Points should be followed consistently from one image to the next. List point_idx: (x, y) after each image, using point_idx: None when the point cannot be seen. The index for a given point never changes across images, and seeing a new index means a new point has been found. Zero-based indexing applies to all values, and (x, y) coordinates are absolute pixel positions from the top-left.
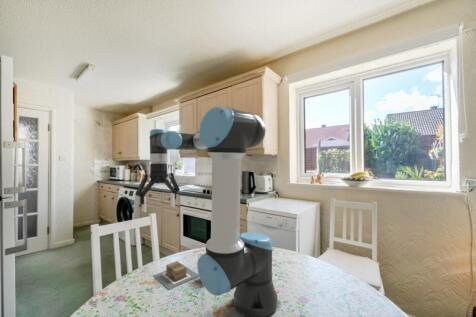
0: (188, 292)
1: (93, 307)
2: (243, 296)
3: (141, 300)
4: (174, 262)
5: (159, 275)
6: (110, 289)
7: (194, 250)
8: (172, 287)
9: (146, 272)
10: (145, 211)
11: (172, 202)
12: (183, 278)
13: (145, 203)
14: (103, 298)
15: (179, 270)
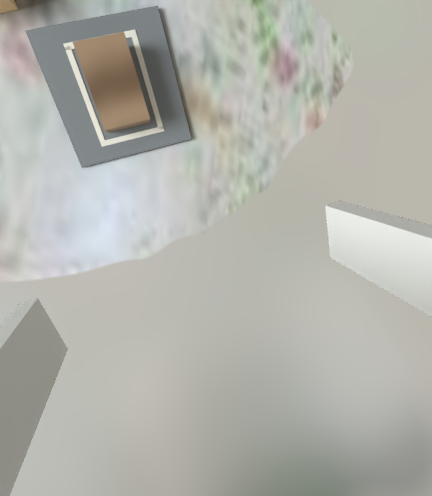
0: None
1: (340, 63)
2: None
3: (239, 10)
4: (116, 121)
5: (172, 126)
6: (300, 134)
7: (12, 274)
8: (143, 8)
9: (205, 182)
10: (334, 203)
11: (24, 346)
12: None
13: (397, 223)
14: (318, 94)
15: (106, 35)
